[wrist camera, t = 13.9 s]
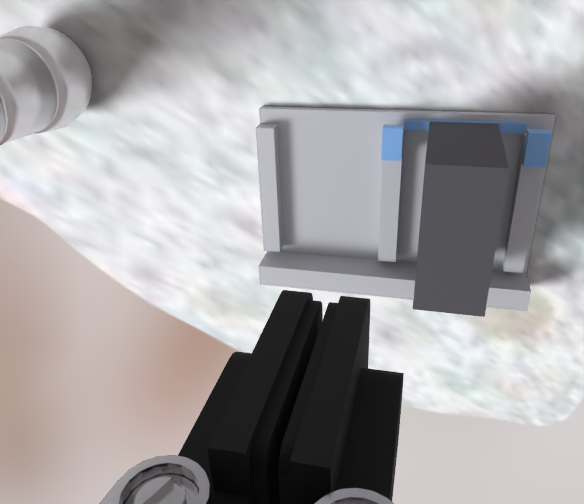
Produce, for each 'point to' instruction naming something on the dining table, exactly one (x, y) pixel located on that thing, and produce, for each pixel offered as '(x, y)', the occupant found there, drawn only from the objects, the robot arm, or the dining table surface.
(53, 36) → the plastic bottle
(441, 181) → the dark gray block
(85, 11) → the dining table surface
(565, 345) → the dining table surface
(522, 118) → the grey tray
